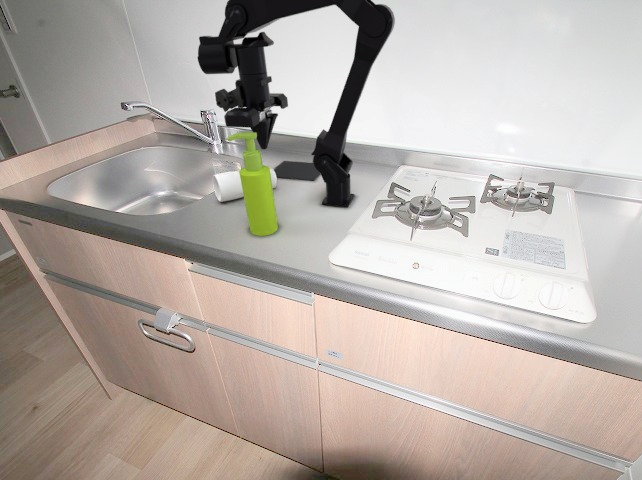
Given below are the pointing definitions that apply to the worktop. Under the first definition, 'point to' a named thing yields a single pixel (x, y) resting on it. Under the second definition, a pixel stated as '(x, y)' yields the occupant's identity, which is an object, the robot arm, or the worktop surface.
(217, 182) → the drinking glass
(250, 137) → the soap dispenser
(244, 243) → the worktop surface
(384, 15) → the robot arm
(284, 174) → the drying mat
